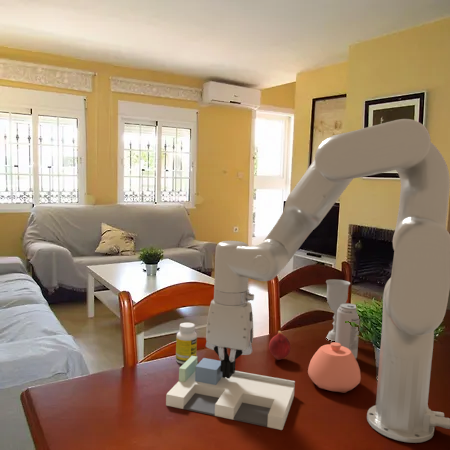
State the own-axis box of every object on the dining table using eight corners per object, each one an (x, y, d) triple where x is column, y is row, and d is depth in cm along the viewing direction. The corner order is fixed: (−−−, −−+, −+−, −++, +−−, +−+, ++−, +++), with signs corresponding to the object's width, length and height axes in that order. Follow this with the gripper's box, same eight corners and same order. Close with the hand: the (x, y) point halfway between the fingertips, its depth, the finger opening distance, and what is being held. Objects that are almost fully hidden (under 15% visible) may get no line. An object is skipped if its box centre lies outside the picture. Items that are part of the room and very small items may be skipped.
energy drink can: (341, 352, 125) (344, 301, 123) (360, 359, 120) (364, 306, 119) (330, 358, 120) (333, 305, 119) (350, 365, 116) (353, 310, 114)
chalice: (322, 341, 132) (326, 283, 130) (321, 334, 139) (325, 278, 137) (347, 344, 131) (351, 285, 129) (345, 336, 138) (349, 280, 135)
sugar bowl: (303, 390, 101) (305, 348, 100) (312, 366, 114) (315, 329, 113) (358, 401, 97) (361, 357, 96) (361, 375, 110) (364, 336, 109)
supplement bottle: (193, 366, 112) (194, 329, 111) (173, 363, 113) (173, 327, 112) (198, 357, 118) (199, 322, 116) (179, 355, 119) (180, 320, 118)
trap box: (294, 395, 99) (295, 372, 98) (282, 430, 85) (283, 403, 84) (191, 376, 106) (192, 355, 106) (166, 405, 93) (166, 380, 92)
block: (223, 375, 102) (223, 361, 102) (215, 385, 97) (216, 370, 97) (203, 372, 103) (203, 357, 103) (195, 381, 99) (195, 366, 98)
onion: (293, 359, 119) (294, 330, 118) (284, 366, 114) (285, 336, 113) (274, 353, 122) (275, 326, 121) (264, 360, 117) (265, 331, 116)
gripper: (267, 296, 98) (263, 374, 100) (205, 289, 103) (202, 363, 105) (259, 305, 91) (255, 389, 93) (193, 297, 95) (190, 376, 98)
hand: (227, 375), depth 99 cm, fingers closed
